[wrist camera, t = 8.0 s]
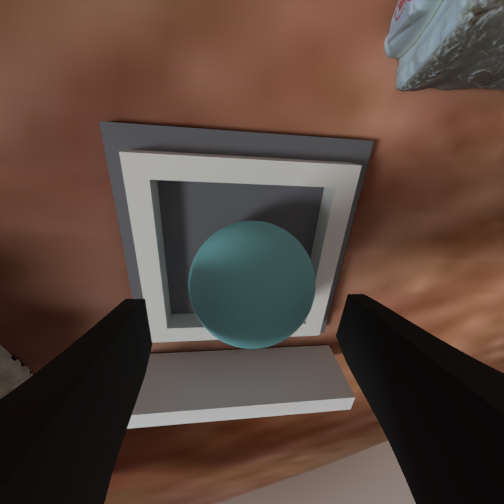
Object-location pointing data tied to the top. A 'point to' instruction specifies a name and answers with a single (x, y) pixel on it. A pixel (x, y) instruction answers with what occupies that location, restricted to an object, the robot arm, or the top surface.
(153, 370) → the wall
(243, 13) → the top surface
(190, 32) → the top surface
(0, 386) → the jagged rock
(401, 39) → the chocolate cake
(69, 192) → the top surface
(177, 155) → the mat
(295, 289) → the ball
